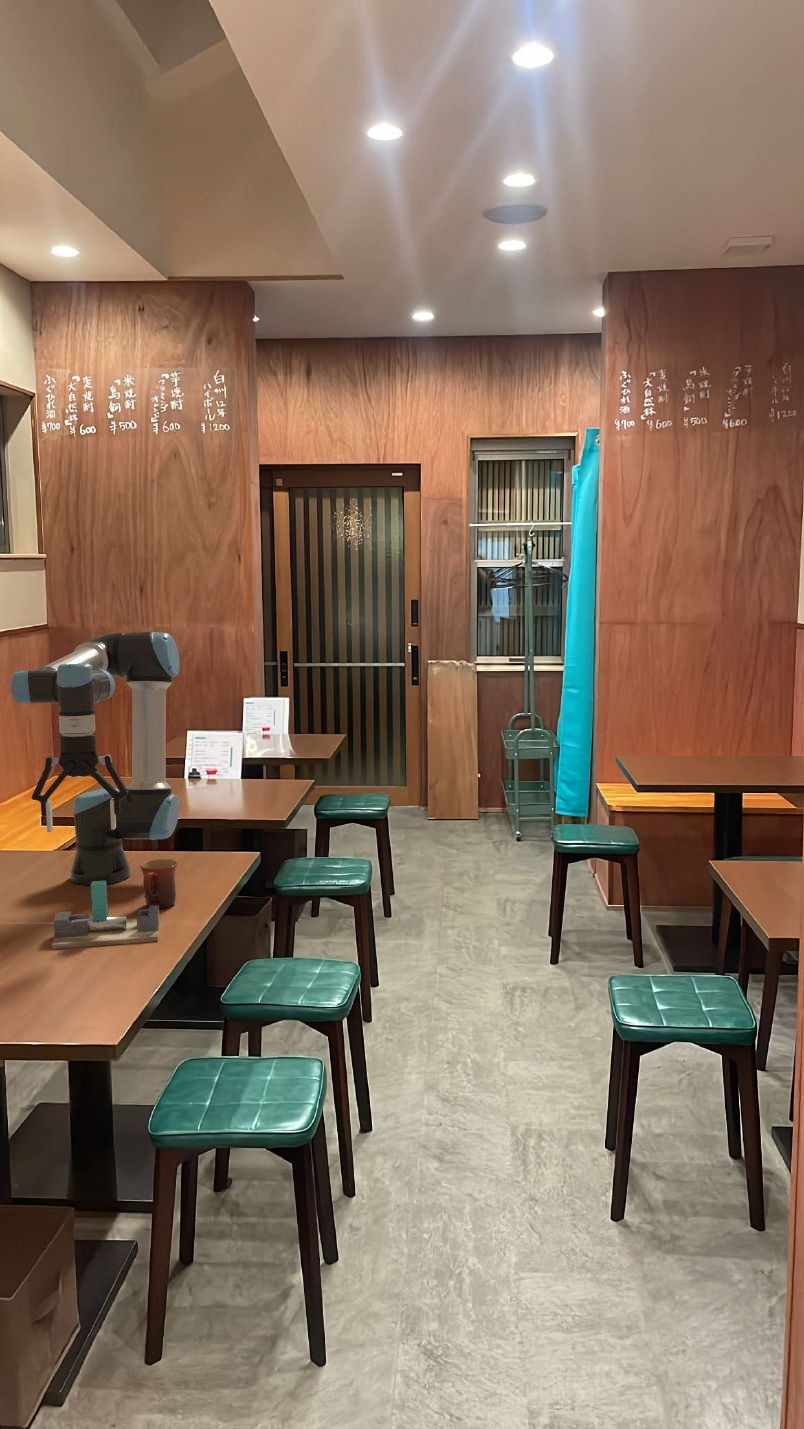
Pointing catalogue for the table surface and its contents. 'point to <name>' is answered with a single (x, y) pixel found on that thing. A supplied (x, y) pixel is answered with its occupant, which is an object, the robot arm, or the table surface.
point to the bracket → (70, 925)
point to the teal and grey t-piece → (102, 911)
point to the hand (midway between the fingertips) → (82, 829)
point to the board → (108, 937)
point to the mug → (159, 882)
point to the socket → (148, 919)
